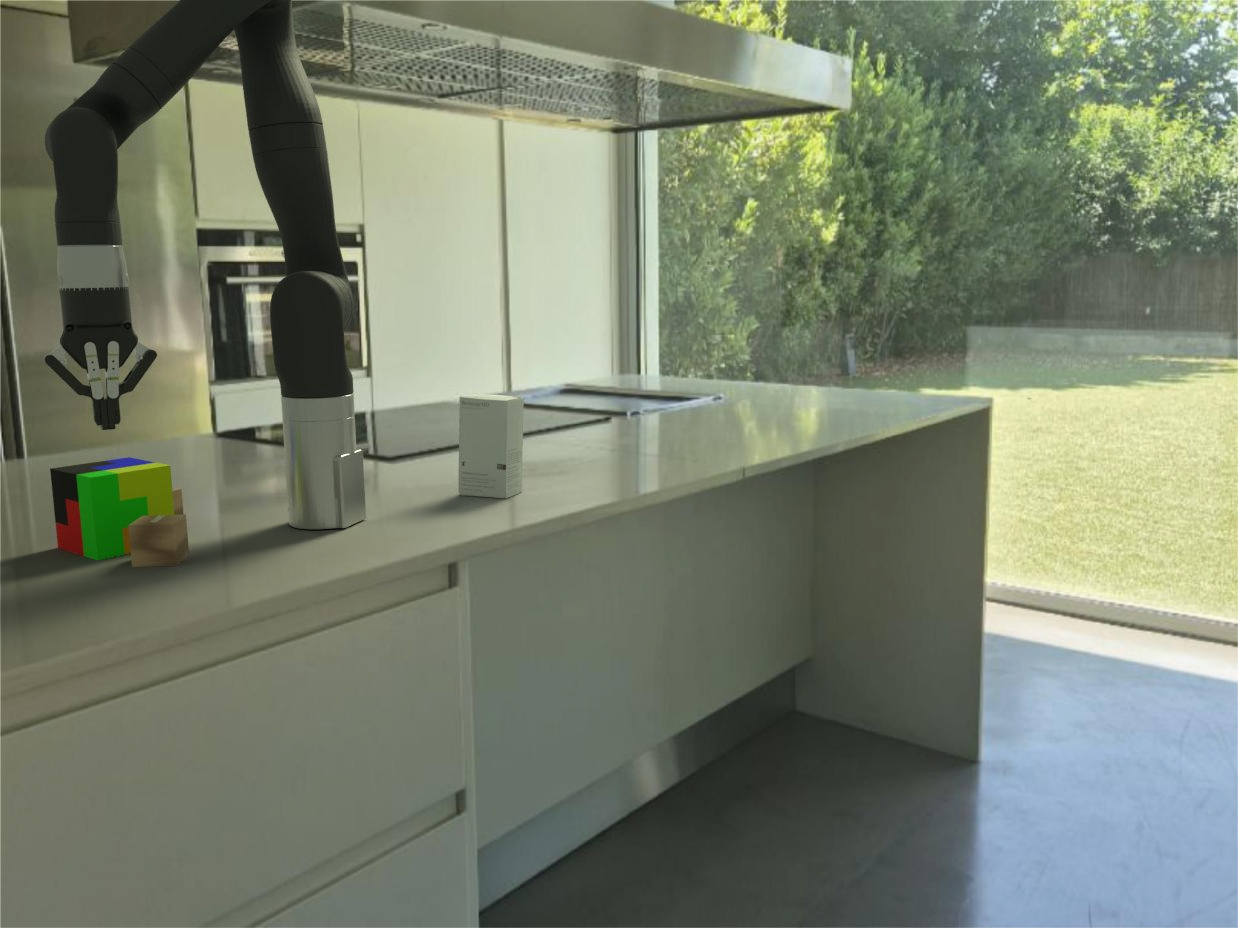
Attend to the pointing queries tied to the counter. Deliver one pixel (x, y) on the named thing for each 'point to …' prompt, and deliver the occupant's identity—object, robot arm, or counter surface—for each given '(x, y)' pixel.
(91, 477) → the puzzle toy
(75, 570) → the counter surface
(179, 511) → the two bar block
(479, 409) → the skincare box
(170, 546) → the one bar block
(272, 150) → the robot arm
